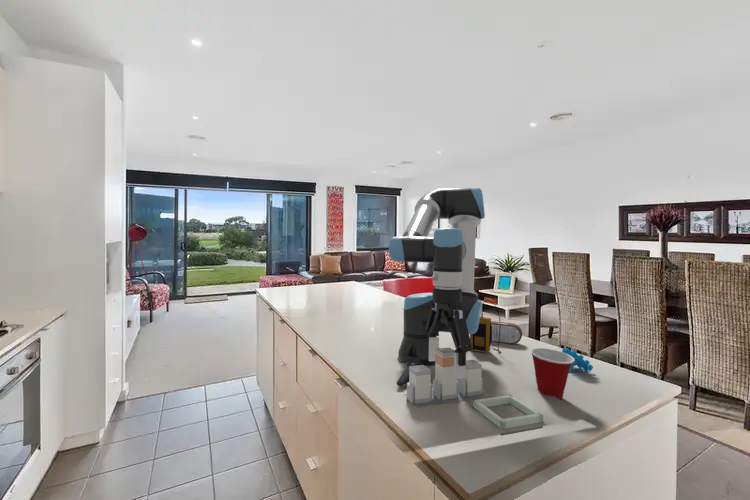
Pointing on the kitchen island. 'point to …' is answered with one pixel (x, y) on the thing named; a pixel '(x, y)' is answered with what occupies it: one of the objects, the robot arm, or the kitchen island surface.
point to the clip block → (436, 391)
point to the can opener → (407, 372)
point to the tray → (509, 422)
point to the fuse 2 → (445, 372)
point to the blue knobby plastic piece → (578, 360)
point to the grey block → (420, 383)
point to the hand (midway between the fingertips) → (445, 368)
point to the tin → (506, 332)
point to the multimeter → (483, 335)
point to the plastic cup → (551, 370)
